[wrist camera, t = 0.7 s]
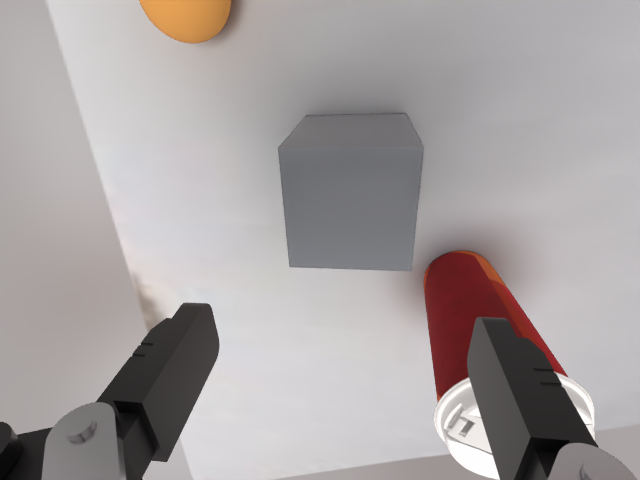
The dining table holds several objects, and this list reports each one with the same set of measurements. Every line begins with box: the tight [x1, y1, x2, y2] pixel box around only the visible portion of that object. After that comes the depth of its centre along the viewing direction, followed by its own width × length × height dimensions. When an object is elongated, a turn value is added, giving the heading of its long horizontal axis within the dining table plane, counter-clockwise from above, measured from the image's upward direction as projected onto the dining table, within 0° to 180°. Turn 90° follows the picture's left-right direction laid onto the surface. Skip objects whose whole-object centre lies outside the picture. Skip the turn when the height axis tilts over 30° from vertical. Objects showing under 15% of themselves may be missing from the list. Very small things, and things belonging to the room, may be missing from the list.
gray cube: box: [278, 113, 424, 271], centre depth 22 cm, size 7×7×9 cm
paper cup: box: [424, 251, 595, 480], centre depth 24 cm, size 8×8×14 cm
